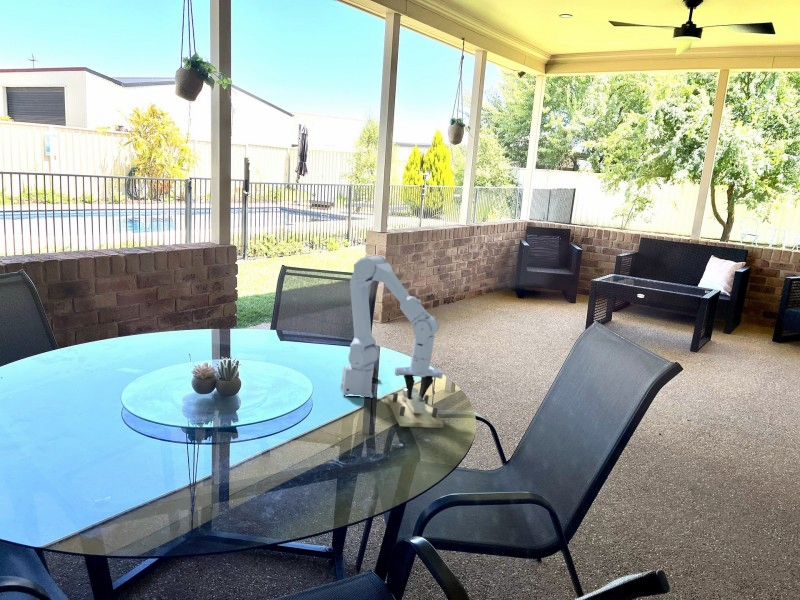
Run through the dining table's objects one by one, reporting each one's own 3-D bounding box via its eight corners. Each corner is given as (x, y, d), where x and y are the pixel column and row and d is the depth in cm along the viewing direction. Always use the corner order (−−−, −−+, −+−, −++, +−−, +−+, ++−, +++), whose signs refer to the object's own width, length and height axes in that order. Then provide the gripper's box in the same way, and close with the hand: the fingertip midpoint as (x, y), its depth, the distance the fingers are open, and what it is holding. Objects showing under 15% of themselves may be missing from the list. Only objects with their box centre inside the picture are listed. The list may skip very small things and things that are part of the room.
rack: (399, 426, 166) (401, 414, 165) (386, 398, 185) (388, 387, 184) (442, 427, 169) (445, 416, 168) (425, 400, 188) (427, 389, 187)
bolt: (358, 368, 214) (370, 382, 200) (348, 361, 212) (358, 375, 198) (367, 355, 214) (379, 369, 200) (357, 348, 212) (368, 361, 198)
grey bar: (410, 412, 171) (412, 401, 170) (400, 396, 184) (401, 386, 184) (426, 413, 172) (428, 402, 172) (414, 397, 185) (416, 387, 185)
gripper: (401, 359, 168) (394, 402, 171) (448, 362, 172) (440, 405, 175) (396, 351, 175) (389, 393, 178) (441, 354, 179) (434, 395, 182)
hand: (414, 398), depth 177 cm, fingers closed on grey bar, 3 cm apart
